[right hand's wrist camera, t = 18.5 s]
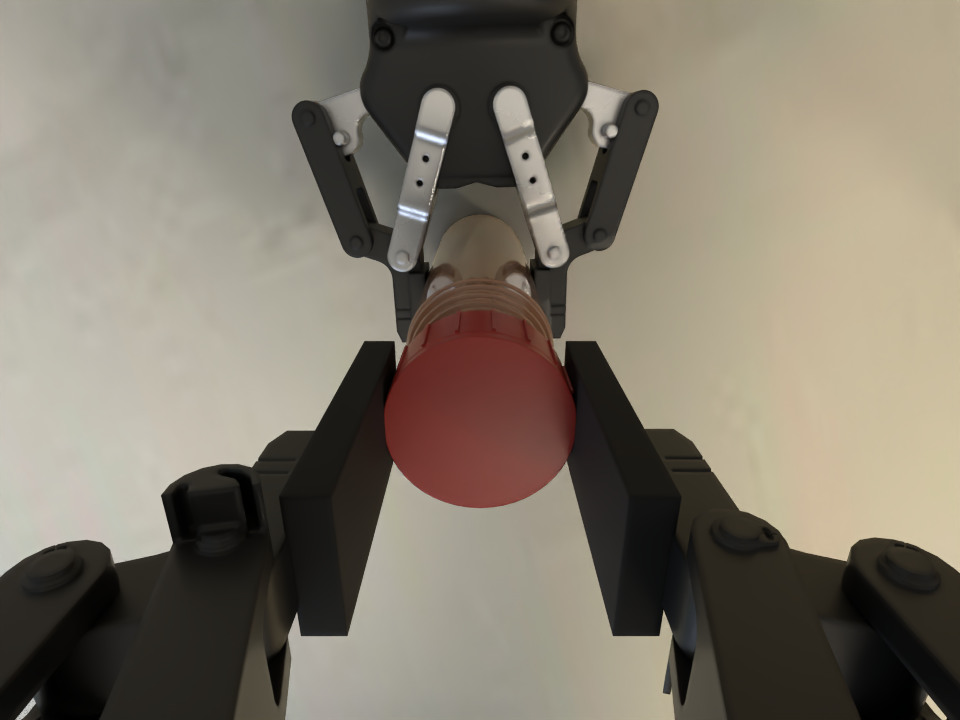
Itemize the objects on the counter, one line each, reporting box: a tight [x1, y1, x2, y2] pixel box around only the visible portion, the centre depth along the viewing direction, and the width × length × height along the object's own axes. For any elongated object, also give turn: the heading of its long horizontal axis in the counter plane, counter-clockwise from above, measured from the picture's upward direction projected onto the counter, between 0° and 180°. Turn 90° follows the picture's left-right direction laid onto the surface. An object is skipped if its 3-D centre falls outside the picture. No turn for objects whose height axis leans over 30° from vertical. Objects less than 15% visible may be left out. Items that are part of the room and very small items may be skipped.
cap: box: [384, 309, 576, 508], centre depth 14 cm, size 4×4×2 cm
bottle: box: [407, 214, 554, 347], centre depth 22 cm, size 4×4×18 cm
